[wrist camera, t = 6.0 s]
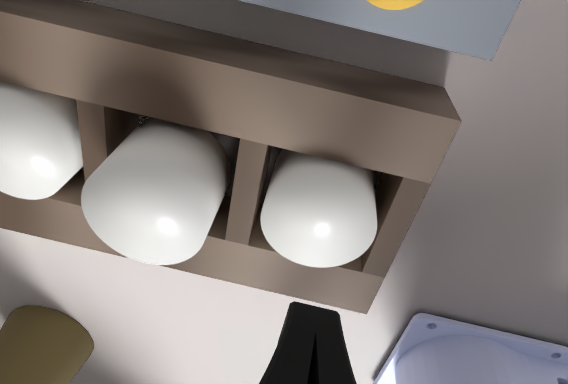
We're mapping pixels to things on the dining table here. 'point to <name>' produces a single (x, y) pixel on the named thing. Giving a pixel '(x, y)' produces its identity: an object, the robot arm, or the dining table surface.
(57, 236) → the button board
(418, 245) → the dining table surface
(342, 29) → the dining table surface
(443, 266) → the dining table surface
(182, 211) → the middle button
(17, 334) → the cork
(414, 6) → the pattern card
